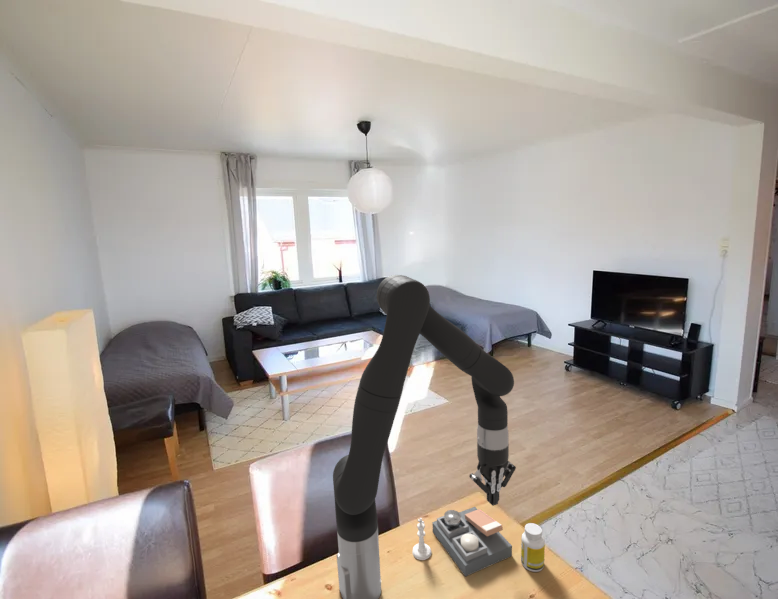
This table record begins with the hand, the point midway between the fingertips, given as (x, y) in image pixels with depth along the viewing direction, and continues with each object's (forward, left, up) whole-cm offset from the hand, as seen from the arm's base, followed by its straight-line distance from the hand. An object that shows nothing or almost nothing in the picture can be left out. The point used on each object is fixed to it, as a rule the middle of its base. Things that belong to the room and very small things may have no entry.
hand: (493, 503), depth 102 cm
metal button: (-7, +8, -9) cm, 14 cm away
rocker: (0, +4, -9) cm, 9 cm away
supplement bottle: (+6, -8, -14) cm, 17 cm away
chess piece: (-17, +7, -14) cm, 23 cm away
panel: (-4, +4, -14) cm, 15 cm away
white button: (-7, 0, -10) cm, 12 cm away
